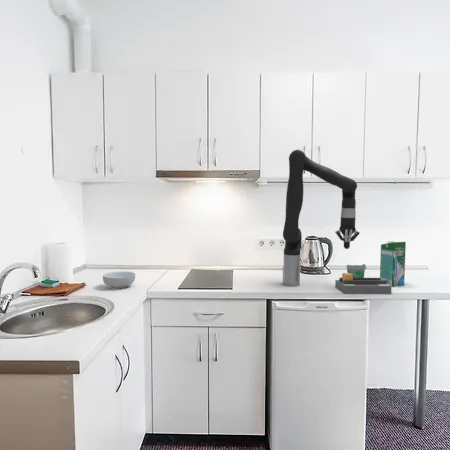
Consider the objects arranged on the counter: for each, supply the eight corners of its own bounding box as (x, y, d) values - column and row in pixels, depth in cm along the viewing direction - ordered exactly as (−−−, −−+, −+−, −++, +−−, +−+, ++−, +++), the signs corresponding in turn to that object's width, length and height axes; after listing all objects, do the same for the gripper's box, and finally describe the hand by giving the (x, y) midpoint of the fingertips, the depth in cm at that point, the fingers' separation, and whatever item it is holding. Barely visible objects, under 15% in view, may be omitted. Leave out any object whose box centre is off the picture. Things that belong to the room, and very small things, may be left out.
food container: (352, 283, 191) (352, 266, 190) (345, 281, 197) (346, 264, 196) (370, 282, 194) (370, 265, 194) (363, 280, 200) (363, 263, 199)
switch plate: (344, 293, 168) (344, 282, 168) (335, 287, 182) (335, 276, 182) (391, 293, 168) (391, 282, 168) (378, 287, 182) (378, 276, 182)
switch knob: (345, 283, 173) (345, 274, 173) (342, 281, 177) (342, 273, 177) (352, 283, 173) (352, 274, 173) (349, 281, 177) (349, 273, 177)
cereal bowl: (101, 291, 170) (101, 278, 170) (104, 284, 186) (103, 272, 186) (135, 289, 175) (135, 276, 175) (135, 282, 191) (135, 270, 191)
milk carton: (391, 281, 195) (392, 239, 194) (404, 285, 187) (405, 241, 186) (379, 283, 192) (380, 240, 191) (392, 286, 184) (393, 242, 182)
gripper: (338, 216, 174) (336, 249, 175) (363, 217, 174) (361, 249, 175) (333, 216, 182) (332, 247, 183) (357, 216, 182) (356, 248, 183)
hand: (346, 248), depth 179 cm, fingers closed
